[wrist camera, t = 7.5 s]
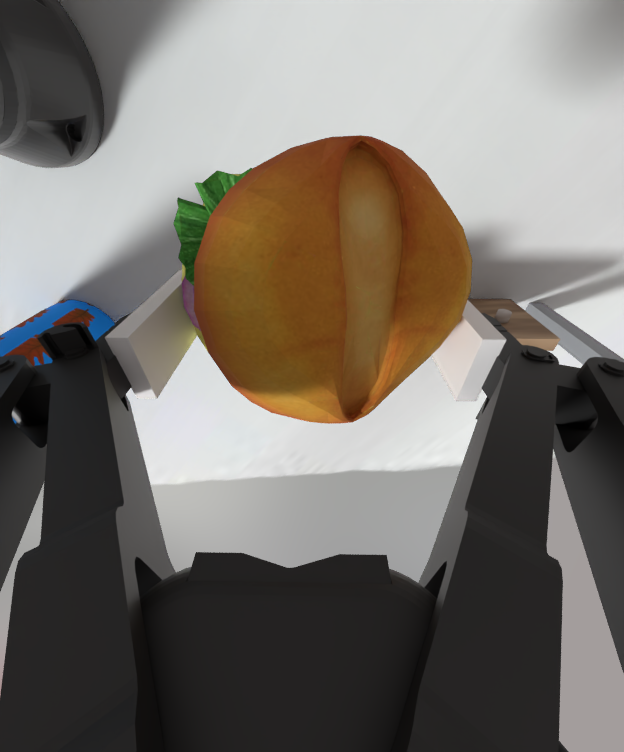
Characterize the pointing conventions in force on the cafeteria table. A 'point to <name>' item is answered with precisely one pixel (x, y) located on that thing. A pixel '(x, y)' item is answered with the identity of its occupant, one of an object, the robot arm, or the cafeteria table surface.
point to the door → (517, 322)
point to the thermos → (68, 311)
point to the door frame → (570, 335)
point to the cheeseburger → (323, 275)
